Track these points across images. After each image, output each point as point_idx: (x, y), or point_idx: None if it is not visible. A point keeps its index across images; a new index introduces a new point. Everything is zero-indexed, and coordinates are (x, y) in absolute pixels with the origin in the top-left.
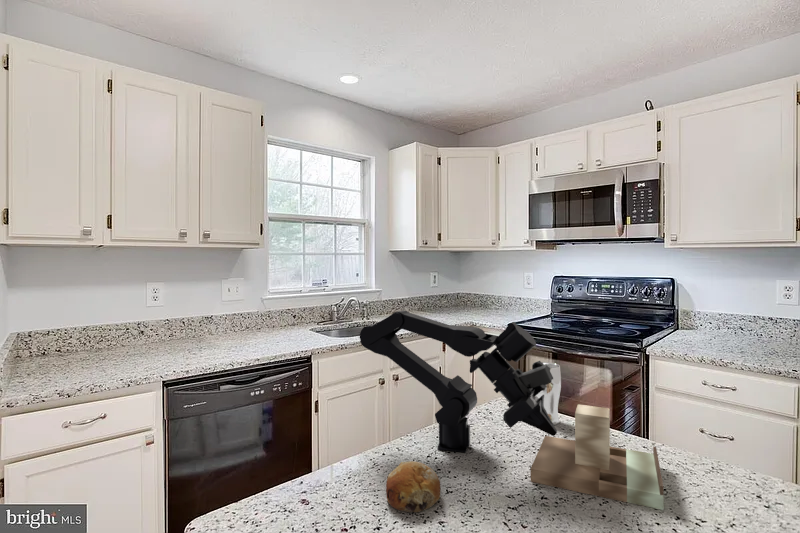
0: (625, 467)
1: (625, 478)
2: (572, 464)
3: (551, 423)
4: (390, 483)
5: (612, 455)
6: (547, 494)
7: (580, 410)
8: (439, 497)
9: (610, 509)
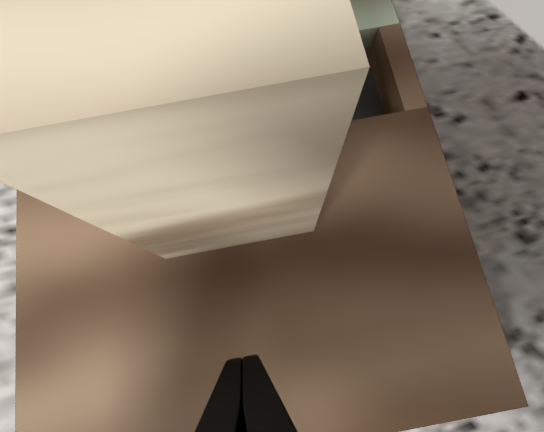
0: None
1: None
2: (330, 239)
3: (238, 424)
4: None
5: None
6: (536, 289)
7: (205, 45)
8: None
9: (467, 88)
